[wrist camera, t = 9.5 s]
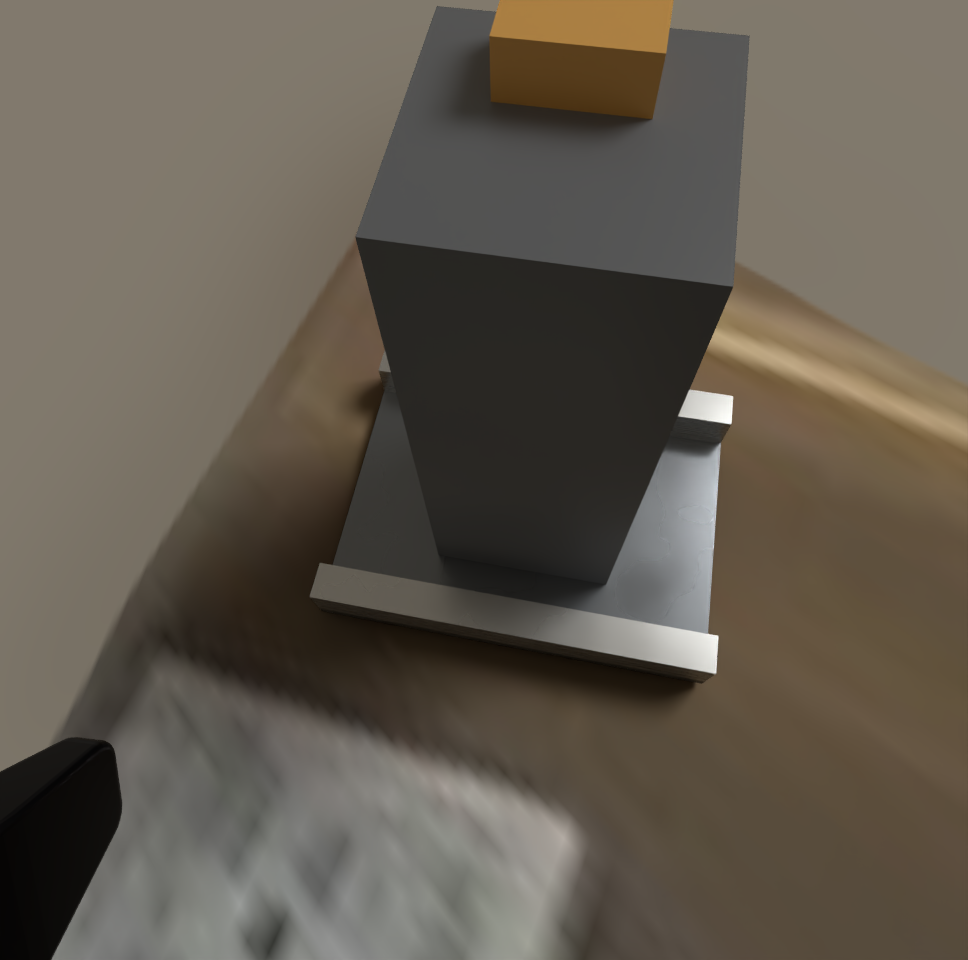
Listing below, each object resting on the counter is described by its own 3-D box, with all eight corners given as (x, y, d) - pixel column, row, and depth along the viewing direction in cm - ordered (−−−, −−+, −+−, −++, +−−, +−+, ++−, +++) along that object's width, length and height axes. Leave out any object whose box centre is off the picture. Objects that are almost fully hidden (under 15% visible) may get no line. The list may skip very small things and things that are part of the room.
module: (605, 584, 21) (757, 228, 8) (438, 554, 21) (339, 178, 9) (625, 435, 23) (770, -33, 10) (472, 411, 24) (430, -62, 11)
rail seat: (701, 683, 20) (715, 673, 19) (322, 611, 21) (309, 596, 20) (720, 420, 23) (733, 396, 22) (393, 370, 25) (386, 344, 23)
